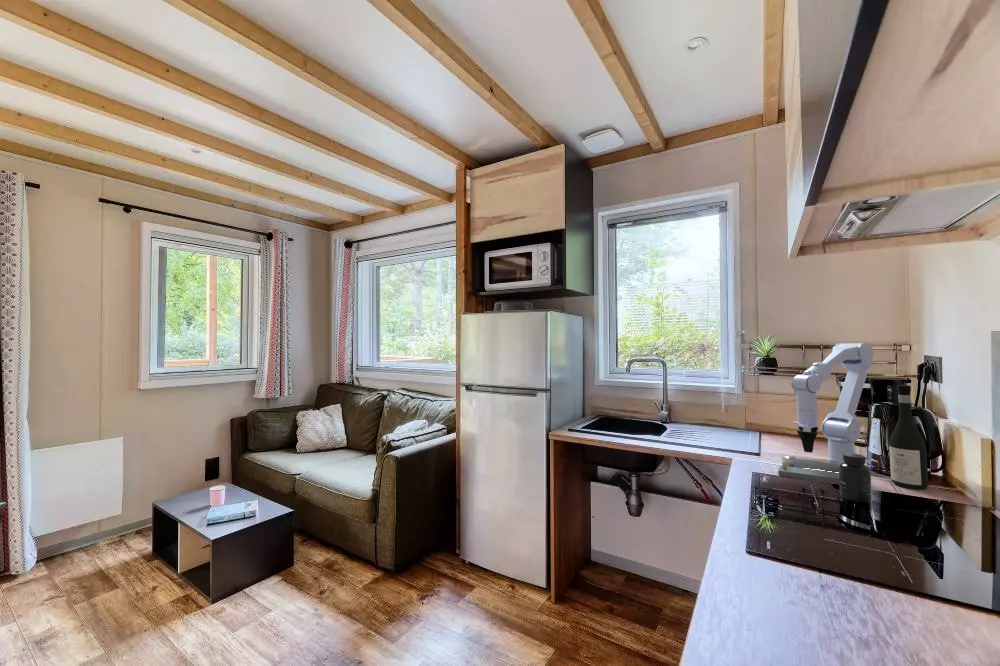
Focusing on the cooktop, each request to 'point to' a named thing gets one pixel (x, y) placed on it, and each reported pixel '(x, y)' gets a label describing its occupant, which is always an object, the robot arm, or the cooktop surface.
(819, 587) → the cooktop surface
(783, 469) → the tool board
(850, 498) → the supplement bottle
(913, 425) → the wine bottle
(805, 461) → the grey long block
